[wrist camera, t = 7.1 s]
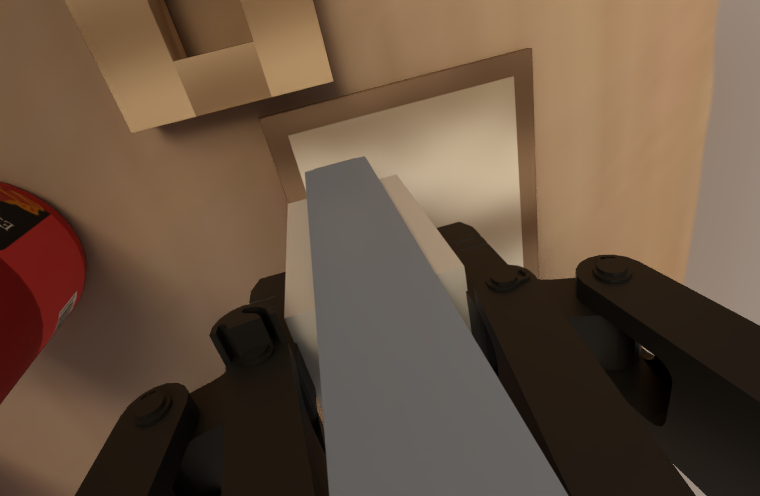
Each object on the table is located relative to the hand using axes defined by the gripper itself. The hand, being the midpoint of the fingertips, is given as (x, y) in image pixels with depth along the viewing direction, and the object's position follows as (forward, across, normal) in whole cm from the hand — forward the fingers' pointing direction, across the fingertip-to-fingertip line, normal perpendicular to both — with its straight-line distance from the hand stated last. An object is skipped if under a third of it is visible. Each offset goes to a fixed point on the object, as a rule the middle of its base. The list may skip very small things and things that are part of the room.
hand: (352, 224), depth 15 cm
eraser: (+4, 0, 0) cm, 4 cm away
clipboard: (+7, +4, -5) cm, 9 cm away
